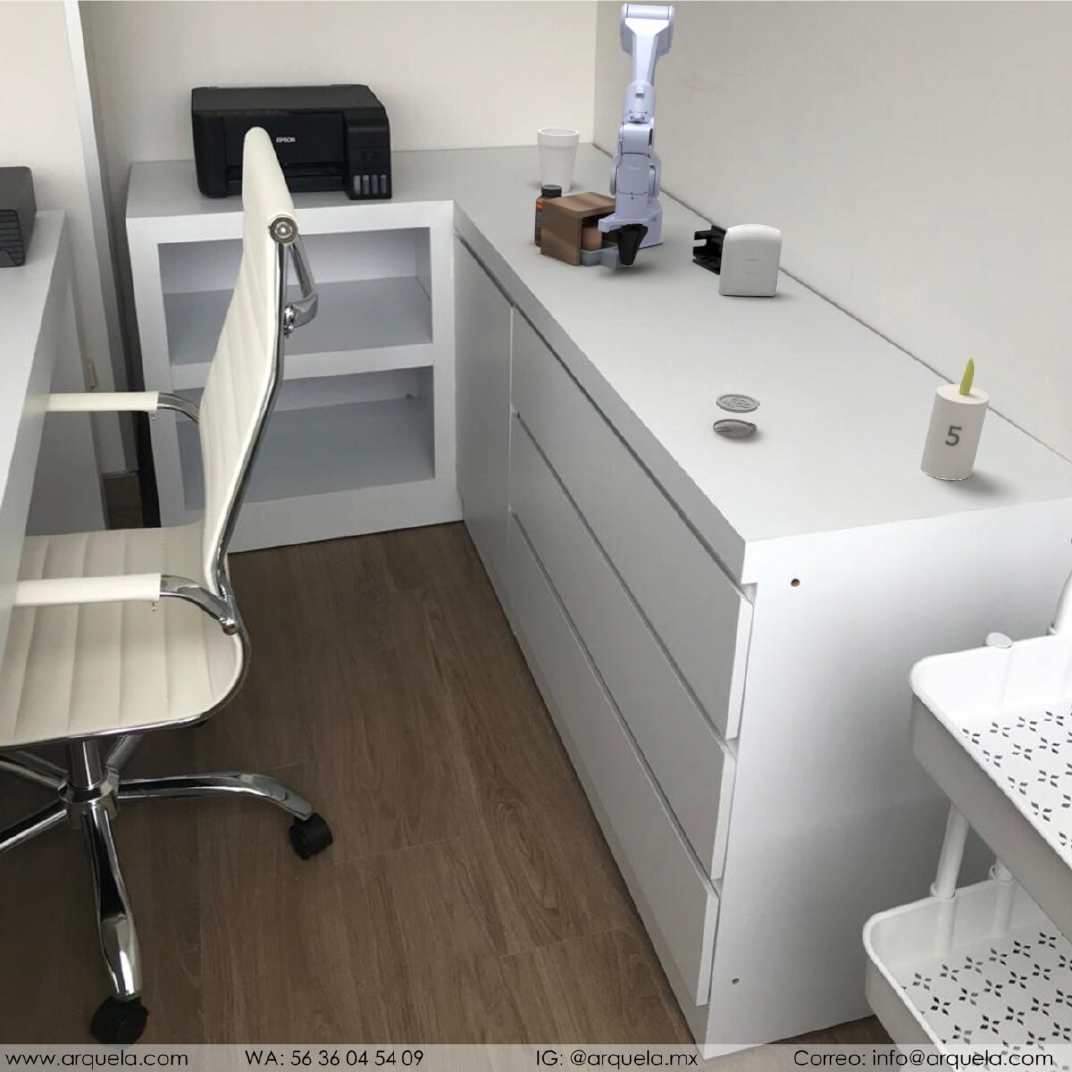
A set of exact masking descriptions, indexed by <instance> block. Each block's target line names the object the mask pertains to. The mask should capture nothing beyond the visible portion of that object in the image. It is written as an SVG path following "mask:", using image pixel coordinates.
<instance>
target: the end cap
mask: <svg viewBox="0 0 1072 1072" xmlns="http://www.w3.org/2000/svg"><path fill="white" fill-rule="evenodd" d="M726 231H727V229H725V228H723V227H720V226H718V225H715V224H711V226H710V229H705V230H698V231H697V230H696V231H695V232H694V235H693V240H694V241H700V240H701V241H702V240H705V244H704V245H696V246H692V256H693V259H692V263H694V264H695V265H698V266H699V267H701V268H703V269H705V270H708V272H711V273H713V274H715V275H719V276H720V271H721V261H722V251H723V242H724V237H725V235H726Z"/></svg>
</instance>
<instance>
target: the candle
mask: <svg viewBox="0 0 1072 1072" xmlns="http://www.w3.org/2000/svg"><path fill="white" fill-rule="evenodd" d="M974 375H975V364H974V360H973V358H972V357H970V358H969V359H968V361H967V364H966V367H965V371H964V373H963V376H962V379H961V382H960V384H956V383H955V384H943V385H940V386H939V387H937V389H936V390H935V391H936V392H935V396H934V401H933V405H932V408H931V409H932V411H931V414H930V415H931V416H930V420H929V425H928V429H927V434H926V438H925V444H924V448H923V452H922V457H921V460H920V461H921V463H920V469H921V468H922V469H923V470H924V471H925V472H927V473H929V474H931V475H932V476H935V477H938V478H946V479H951V480H952V479H953V480H954V479H955V480H959V479H965V478H968V479H969V478H971V476H972V474H973V473H972V472H973V470H974V466H975V459H976V455H977V452H978V447H979V444H980V438H981V436H982V430H983V426H984V422H985V418H986V414H987V413H986V412H987V409H988V406H989V405H988V404H989V401H990V396H989V394H988V393H986V392H985V391H984V390H981V389H979V388H976V387H975V386H974V387H973V385H972V384H973V380H974ZM922 469H921V470H922ZM923 470H922V471H923ZM924 471H923V472H924ZM925 472H924V473H925ZM932 476H931V477H932ZM935 477H934V478H935ZM938 478H937V479H938ZM965 480H966V479H965Z"/></svg>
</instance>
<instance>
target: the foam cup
mask: <svg viewBox="0 0 1072 1072" xmlns="http://www.w3.org/2000/svg"><path fill="white" fill-rule="evenodd" d="M536 141H537V144H538V153H539V155H538V156H539V165H540V177H541V187H542V186H543V185H559V186H561V187H562V194H563V193H568V192H570V188H571V185H572V179H573V173H574V168H575V162H576V158H577V157H576V156H577V150H578V144H580V132H579V131H578V130H575V129H573V128H567V127H543V128H540V129H537V140H536Z"/></svg>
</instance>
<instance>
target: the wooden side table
mask: <svg viewBox="0 0 1072 1072" xmlns="http://www.w3.org/2000/svg"><path fill="white" fill-rule="evenodd" d="M615 206H616V199H615V197H610V196H607V195H603V194H601V193H597V192H593V191H588V192H582V193H577V194H570V195H565V196H562V197H559V198H553V199H548V200H542V224H541V246H540V251H539V252H540V254H541V255H544V256H546V257H549V258H552V259H555V260H558V261H561V262H564V263H566V264H569V265H572V266H574V267H577V266H580V247H581V229H582V226H583V225H598V222H599V220H600V219H603V218H606V217H608V216H610V215H612V214H614V213H615ZM602 239H603V240H607V241H610V242H613V243H616V240H615V238H614V236H613V234H612V232H611V230H609V232H602ZM616 244H617V243H616Z"/></svg>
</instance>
